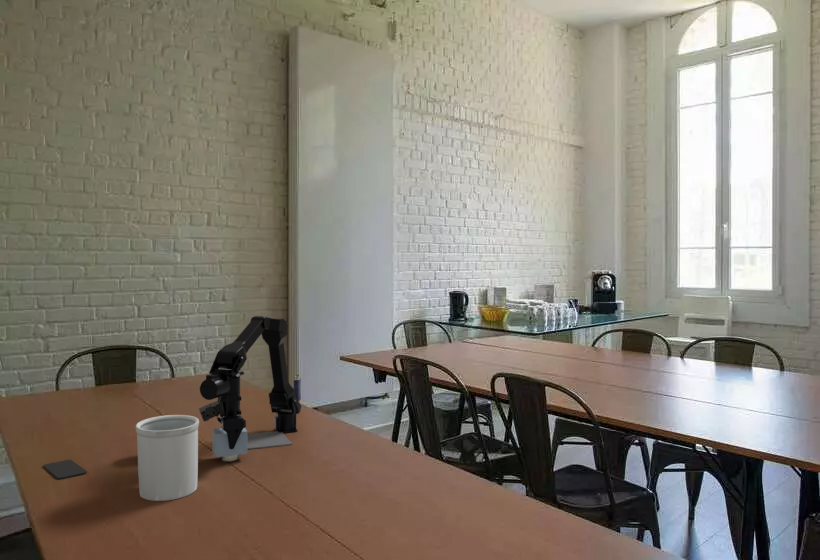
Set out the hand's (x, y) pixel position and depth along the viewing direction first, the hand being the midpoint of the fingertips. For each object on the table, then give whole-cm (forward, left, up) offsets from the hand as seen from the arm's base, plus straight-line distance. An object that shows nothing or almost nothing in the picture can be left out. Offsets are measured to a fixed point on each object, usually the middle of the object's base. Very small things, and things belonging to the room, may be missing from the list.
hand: (229, 445), depth 185 cm
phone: (+43, -7, -4) cm, 44 cm away
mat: (-12, -15, -4) cm, 20 cm away
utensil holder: (+18, +20, -4) cm, 27 cm away
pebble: (0, 0, -4) cm, 4 cm away
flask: (-37, -69, -4) cm, 78 cm away
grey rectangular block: (0, 0, -2) cm, 2 cm away
